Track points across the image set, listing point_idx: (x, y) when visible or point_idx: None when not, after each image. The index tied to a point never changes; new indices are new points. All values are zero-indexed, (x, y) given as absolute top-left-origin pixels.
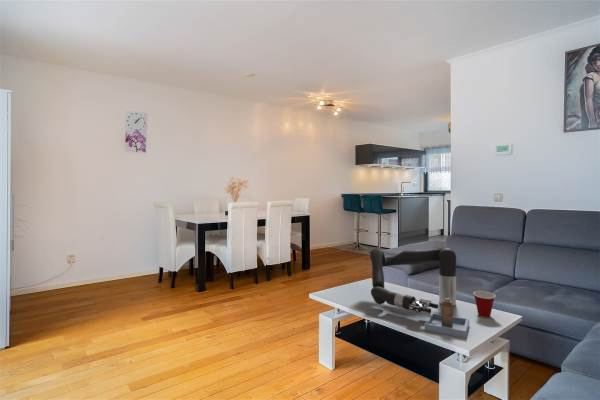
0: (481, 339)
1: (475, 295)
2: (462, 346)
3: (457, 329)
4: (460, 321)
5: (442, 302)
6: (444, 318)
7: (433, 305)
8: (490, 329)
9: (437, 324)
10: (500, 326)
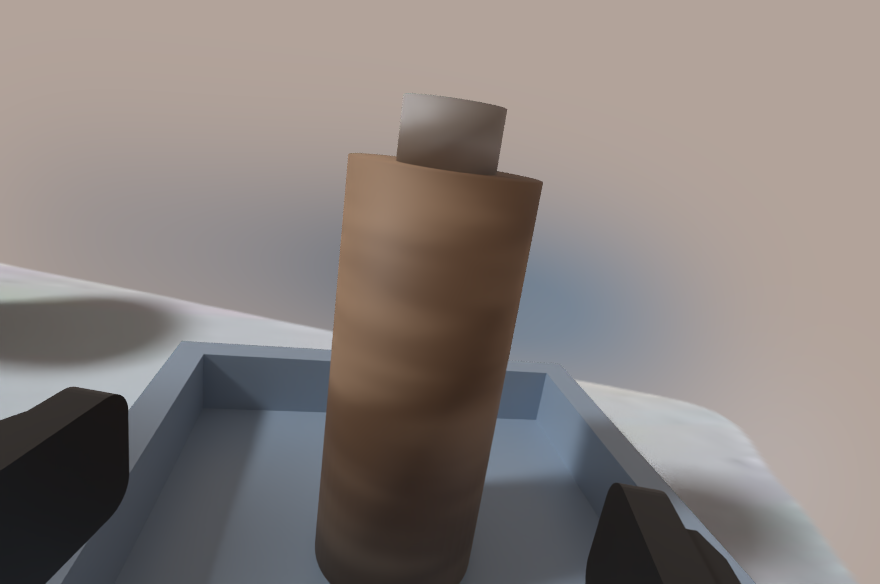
0: None
1: None
2: (713, 428)
3: (584, 396)
4: (184, 422)
5: (527, 184)
6: (491, 441)
7: (19, 526)
8: (239, 329)
9: None
10: (146, 300)
